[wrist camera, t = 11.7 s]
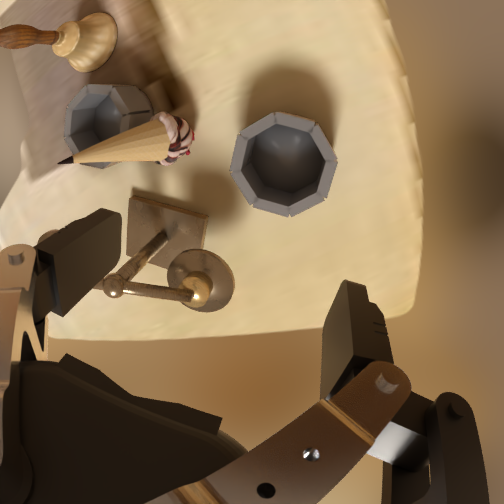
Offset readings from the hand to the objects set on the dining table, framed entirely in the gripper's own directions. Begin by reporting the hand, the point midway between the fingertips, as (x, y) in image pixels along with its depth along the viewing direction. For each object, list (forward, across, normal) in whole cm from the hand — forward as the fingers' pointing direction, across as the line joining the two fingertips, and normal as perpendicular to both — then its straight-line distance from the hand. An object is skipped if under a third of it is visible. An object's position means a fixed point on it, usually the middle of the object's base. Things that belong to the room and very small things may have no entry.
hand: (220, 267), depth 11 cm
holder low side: (+24, 0, 0) cm, 24 cm away
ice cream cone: (+11, +18, +2) cm, 22 cm away
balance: (+24, +12, +13) cm, 30 cm away
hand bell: (+24, +27, -10) cm, 38 cm away
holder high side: (+24, +20, 0) cm, 31 cm away
